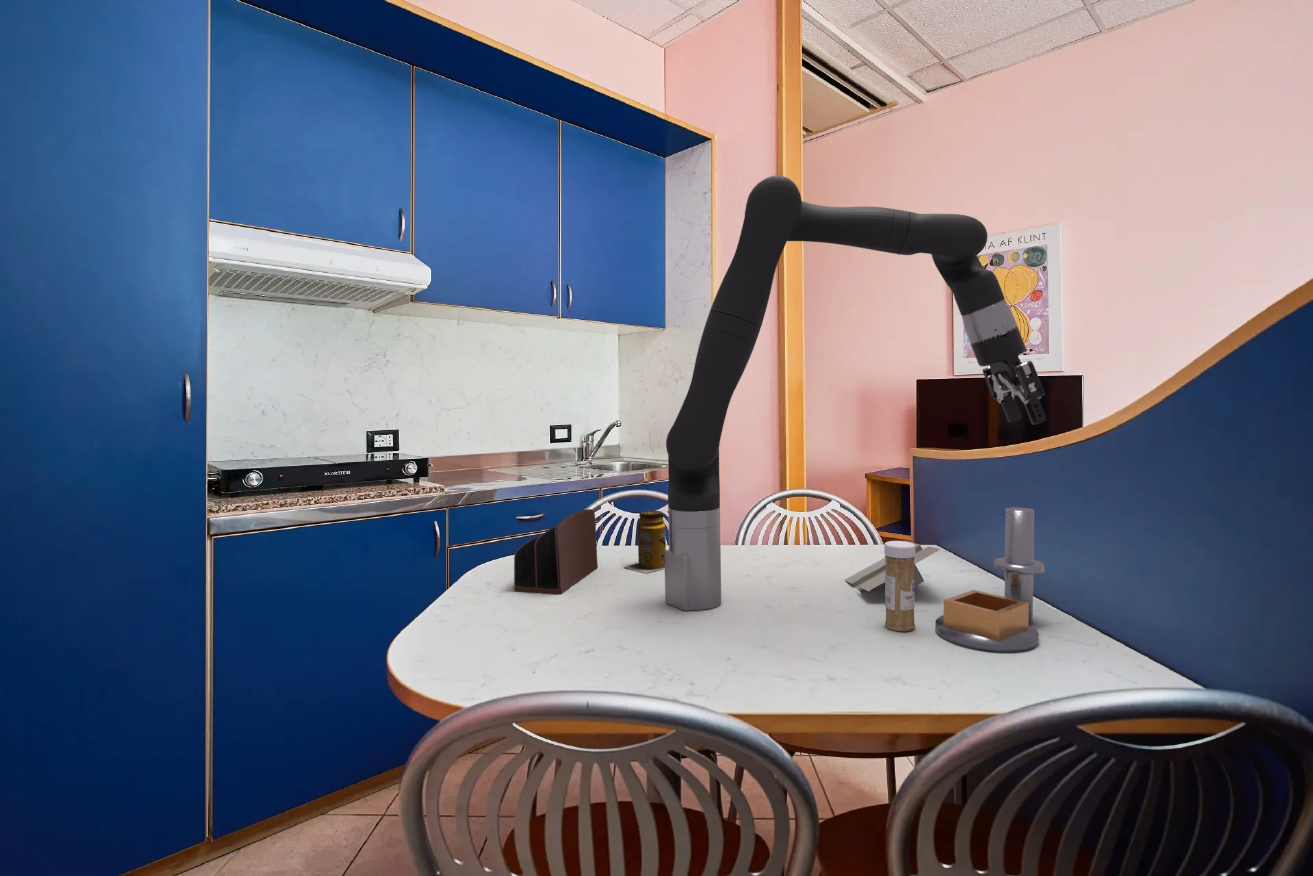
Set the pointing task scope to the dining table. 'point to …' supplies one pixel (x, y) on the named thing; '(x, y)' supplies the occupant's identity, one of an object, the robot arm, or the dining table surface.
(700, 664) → the dining table surface
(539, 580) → the letter holder
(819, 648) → the dining table surface
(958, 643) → the caddy stand
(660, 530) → the condiment
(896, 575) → the sprinkles bottle
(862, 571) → the tilted grey ramp
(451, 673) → the dining table surface
